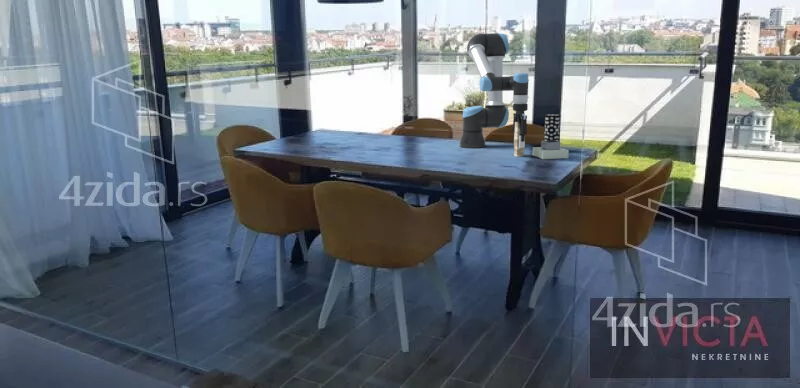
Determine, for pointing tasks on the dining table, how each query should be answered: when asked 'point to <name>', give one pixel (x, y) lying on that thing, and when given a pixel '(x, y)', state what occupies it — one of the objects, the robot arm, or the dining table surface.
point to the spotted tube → (552, 127)
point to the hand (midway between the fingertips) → (519, 146)
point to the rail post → (517, 142)
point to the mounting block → (550, 153)
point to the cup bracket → (550, 145)
